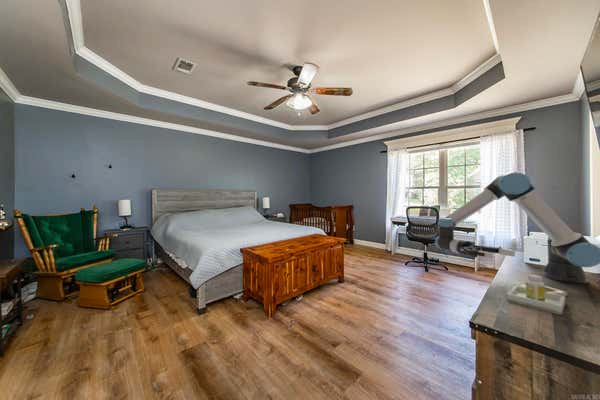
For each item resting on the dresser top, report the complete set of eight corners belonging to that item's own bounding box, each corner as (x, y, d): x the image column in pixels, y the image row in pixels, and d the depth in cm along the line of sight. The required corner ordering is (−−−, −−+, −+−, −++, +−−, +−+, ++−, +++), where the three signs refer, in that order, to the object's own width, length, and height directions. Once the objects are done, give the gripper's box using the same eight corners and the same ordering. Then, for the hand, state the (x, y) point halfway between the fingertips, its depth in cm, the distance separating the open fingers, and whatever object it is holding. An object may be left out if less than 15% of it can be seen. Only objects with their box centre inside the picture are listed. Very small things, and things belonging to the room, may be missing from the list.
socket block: (536, 286, 110) (536, 283, 110) (567, 295, 99) (567, 292, 99) (519, 288, 107) (519, 285, 107) (549, 298, 96) (549, 294, 96)
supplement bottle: (544, 299, 93) (544, 275, 93) (545, 303, 89) (545, 279, 89) (525, 295, 97) (525, 272, 97) (526, 299, 93) (526, 276, 93)
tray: (514, 292, 103) (514, 285, 103) (565, 303, 91) (565, 296, 91) (507, 300, 94) (506, 293, 94) (561, 314, 82) (561, 306, 82)
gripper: (479, 252, 129) (523, 260, 109) (443, 255, 124) (483, 265, 103) (478, 238, 130) (522, 245, 109) (443, 241, 124) (482, 248, 103)
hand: (503, 254), depth 106 cm, fingers open, 13 cm apart
